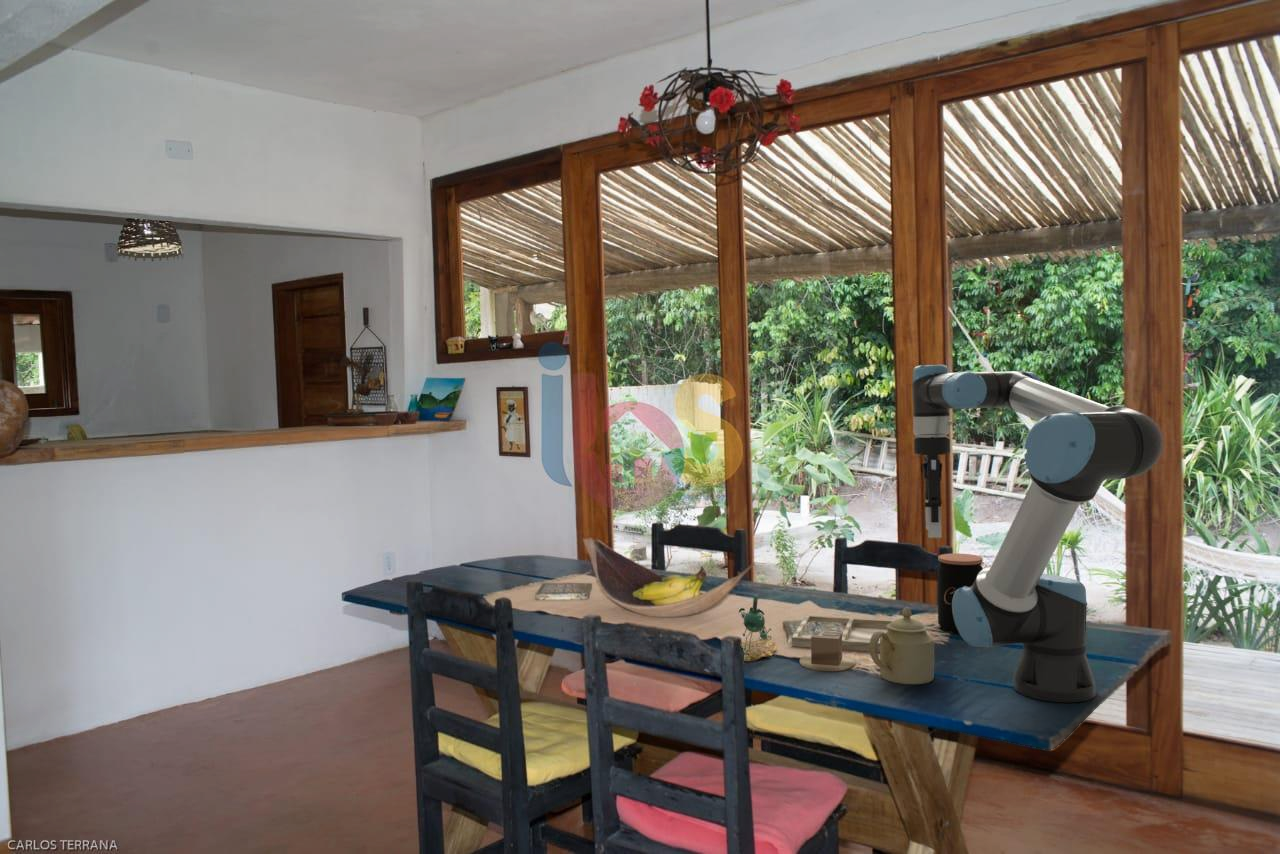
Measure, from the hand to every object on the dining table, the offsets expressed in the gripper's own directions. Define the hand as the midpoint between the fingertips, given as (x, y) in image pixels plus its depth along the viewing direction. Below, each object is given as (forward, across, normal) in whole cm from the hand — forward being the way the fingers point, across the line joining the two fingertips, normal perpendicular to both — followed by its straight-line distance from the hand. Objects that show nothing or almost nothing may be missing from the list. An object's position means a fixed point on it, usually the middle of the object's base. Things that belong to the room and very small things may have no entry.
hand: (933, 533), depth 213 cm
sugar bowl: (+29, -11, +7) cm, 32 cm away
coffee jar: (+28, +33, -7) cm, 44 cm away
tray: (+28, +18, +20) cm, 39 cm away
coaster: (+29, -3, +23) cm, 37 cm away
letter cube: (+28, -3, +23) cm, 37 cm away
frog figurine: (+29, +3, +40) cm, 49 cm away
